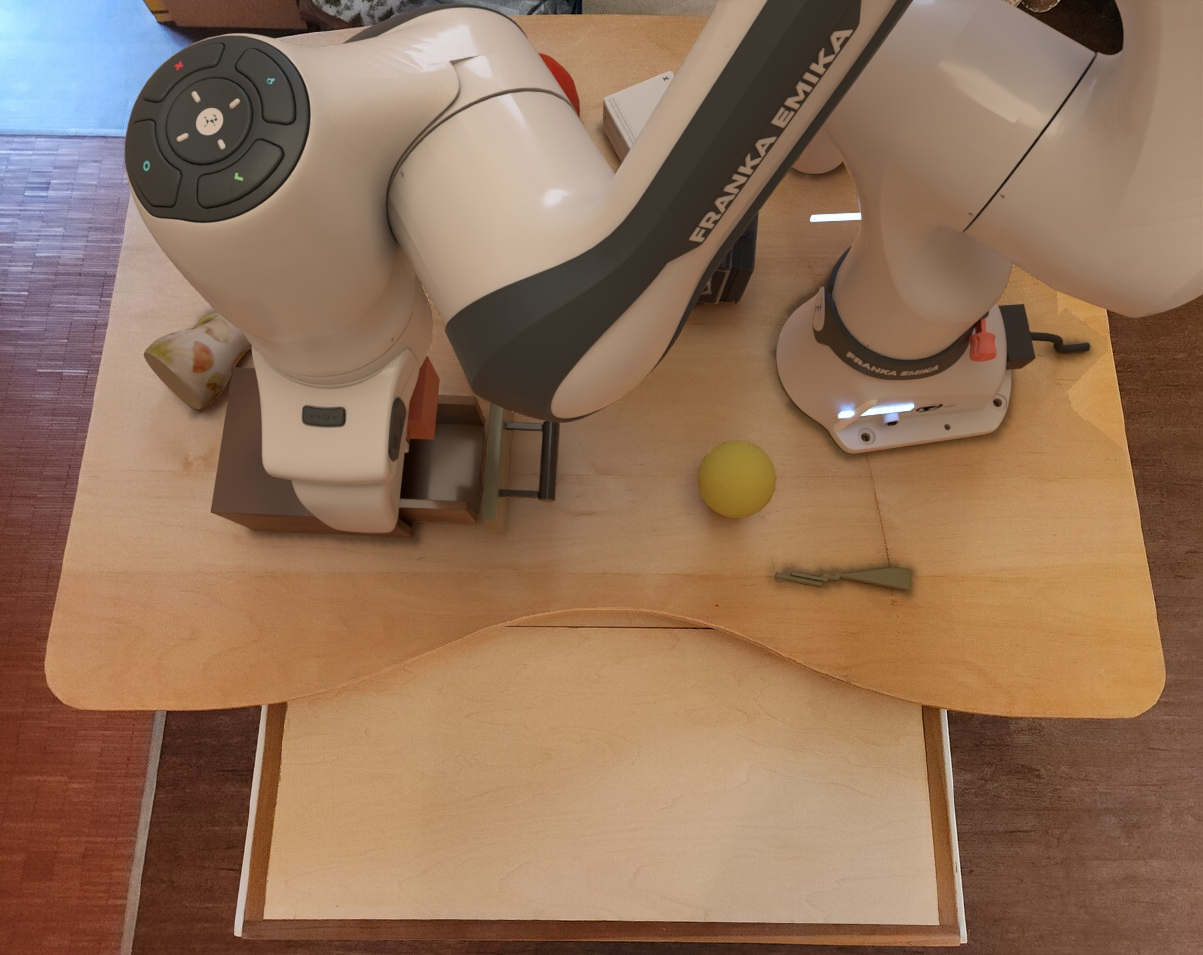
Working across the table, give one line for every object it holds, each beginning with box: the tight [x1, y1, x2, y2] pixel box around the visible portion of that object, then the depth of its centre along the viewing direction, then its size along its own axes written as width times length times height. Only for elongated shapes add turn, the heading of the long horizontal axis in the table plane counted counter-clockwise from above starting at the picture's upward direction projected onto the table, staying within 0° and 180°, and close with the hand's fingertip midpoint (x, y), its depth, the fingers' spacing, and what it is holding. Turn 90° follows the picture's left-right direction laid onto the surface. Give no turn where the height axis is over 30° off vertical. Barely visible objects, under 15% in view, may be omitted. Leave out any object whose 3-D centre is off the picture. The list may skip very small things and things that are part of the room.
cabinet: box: [210, 366, 415, 539], centre depth 73 cm, size 15×13×9 cm
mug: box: [143, 312, 252, 410], centre depth 77 cm, size 8×10×10 cm
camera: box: [695, 211, 760, 306], centre depth 77 cm, size 11×11×15 cm
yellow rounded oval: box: [696, 439, 777, 519], centre depth 72 cm, size 7×7×10 cm
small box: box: [602, 70, 676, 164], centre depth 83 cm, size 8×8×5 cm
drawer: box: [398, 394, 561, 535], centre depth 73 cm, size 18×11×7 cm, turn 88°
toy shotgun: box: [774, 566, 913, 591], centre depth 75 cm, size 12×2×1 cm, turn 88°
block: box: [407, 355, 441, 440], centre depth 56 cm, size 4×4×4 cm
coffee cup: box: [791, 128, 843, 175], centre depth 80 cm, size 9×9×12 cm
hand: (402, 402), depth 57 cm, fingers closed on block, 4 cm apart
